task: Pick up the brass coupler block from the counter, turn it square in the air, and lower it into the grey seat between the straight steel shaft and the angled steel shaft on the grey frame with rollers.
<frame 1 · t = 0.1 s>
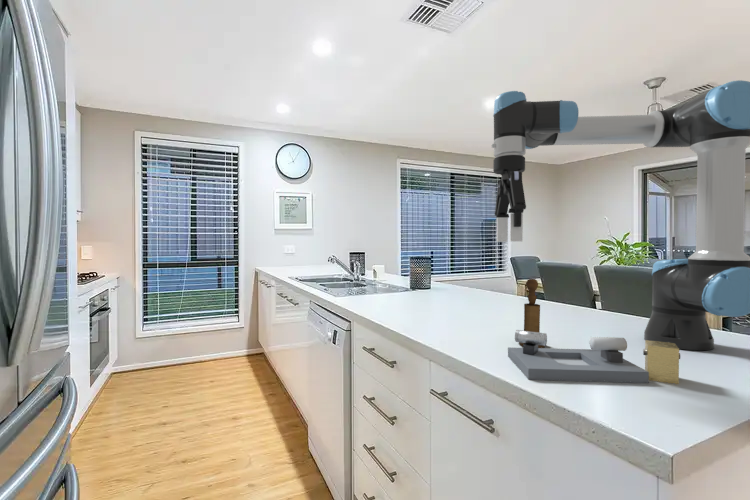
hand: (508, 241, 97), 28 cm above the worktop, fingers open, 13 cm apart
brown tall knobbed post: (531, 346, 104), on the worktop
shaft b: (530, 361, 90), resting on grey frame with rollers
coupler: (661, 378, 79), on the worktop
grey frame with rollers: (570, 368, 85), on the worktop
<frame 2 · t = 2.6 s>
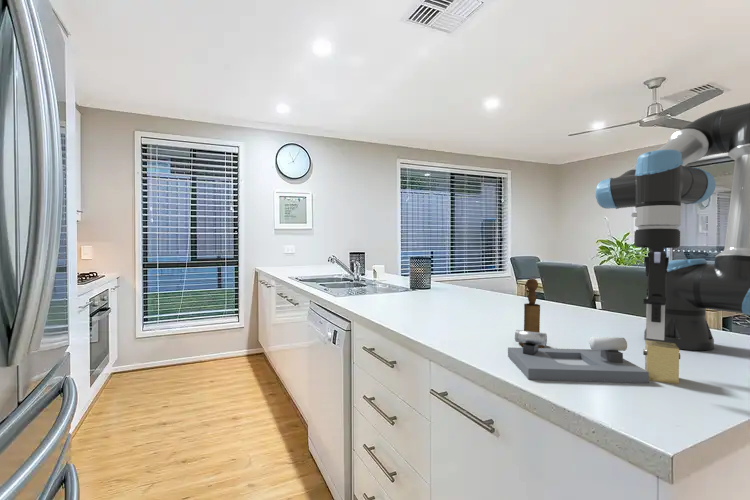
hand: (654, 333, 78), 9 cm above the worktop, fingers open, 13 cm apart
nothing on the worktop moved.
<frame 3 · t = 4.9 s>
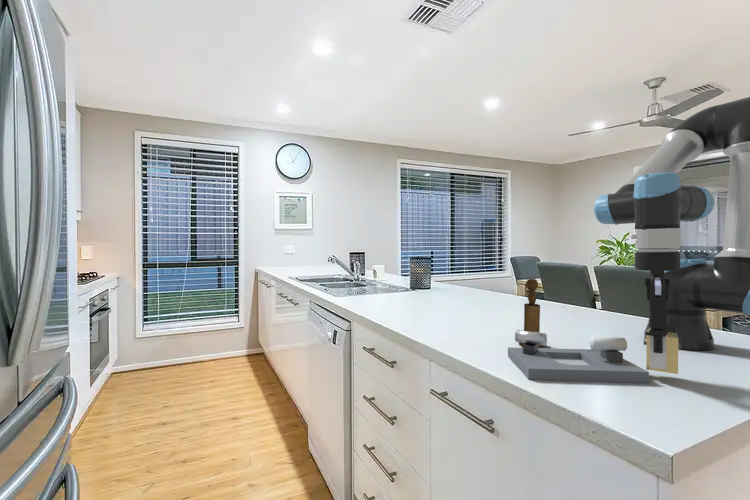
hand: (657, 363, 79), 3 cm above the worktop, fingers closed on coupler, 5 cm apart
coupler: (661, 368, 78), point 2 cm above the worktop, touching gripper
everything else where it was.
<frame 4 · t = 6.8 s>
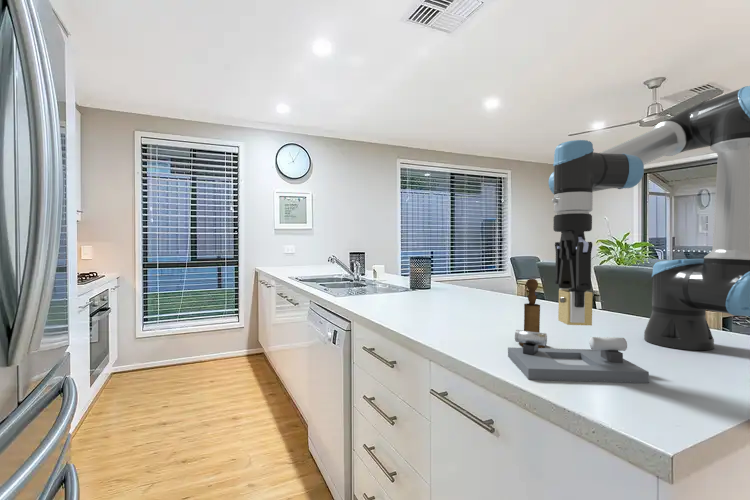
hand: (571, 319, 85), 11 cm above the worktop, fingers closed on coupler, 5 cm apart
coupler: (574, 322, 85), point 10 cm above the worktop, touching gripper
everything else where it was.
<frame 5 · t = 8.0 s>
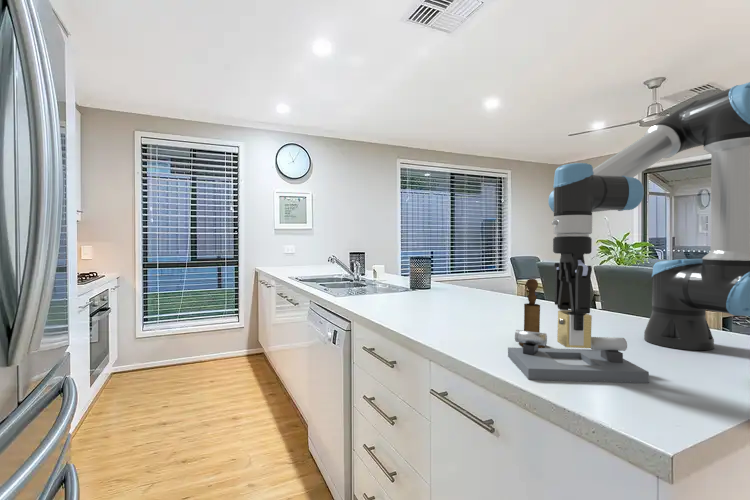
hand: (570, 341, 85), 6 cm above the worktop, fingers closed on coupler, 5 cm apart
coupler: (573, 344, 85), point 5 cm above the worktop, touching gripper
everything else where it was.
when the fingers open (2 cm above the worktop, at t = 8.9 s): coupler stays where it is, resting on grey frame with rollers.
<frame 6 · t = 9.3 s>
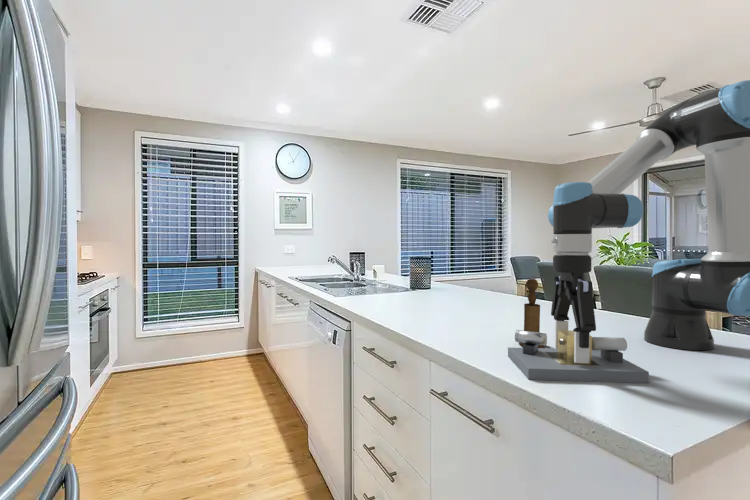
hand: (570, 355, 85), 3 cm above the worktop, fingers open, 10 cm apart
coupler: (574, 364, 85), point 1 cm above the worktop, touching grey frame with rollers
everything else where it was.
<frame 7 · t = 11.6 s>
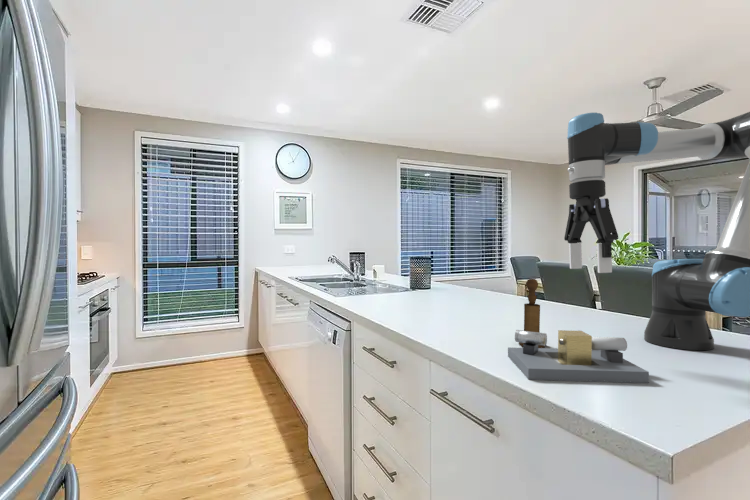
hand: (589, 270, 92), 21 cm above the worktop, fingers open, 13 cm apart
nothing on the worktop moved.
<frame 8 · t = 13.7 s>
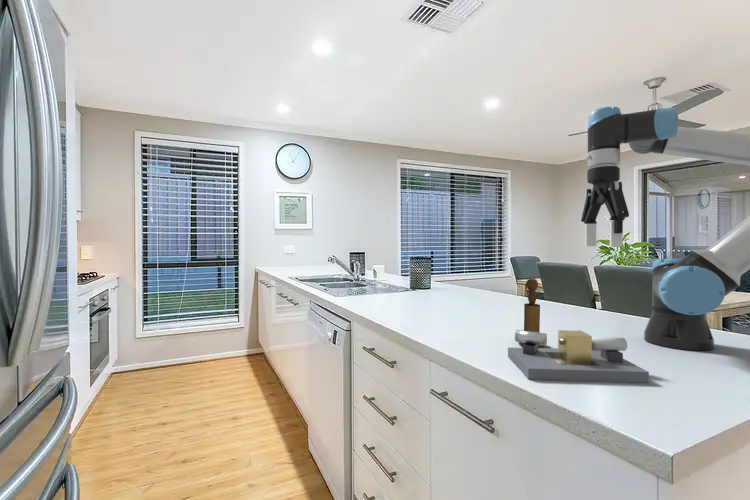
hand: (602, 246, 104), 27 cm above the worktop, fingers open, 13 cm apart
nothing on the worktop moved.
at the end: coupler 0.7 cm off-centre on the grey frame with rollers, point 0.8 cm above the grey frame with rollers's base; coupler tilted 0°; the gripper is holding nothing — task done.
